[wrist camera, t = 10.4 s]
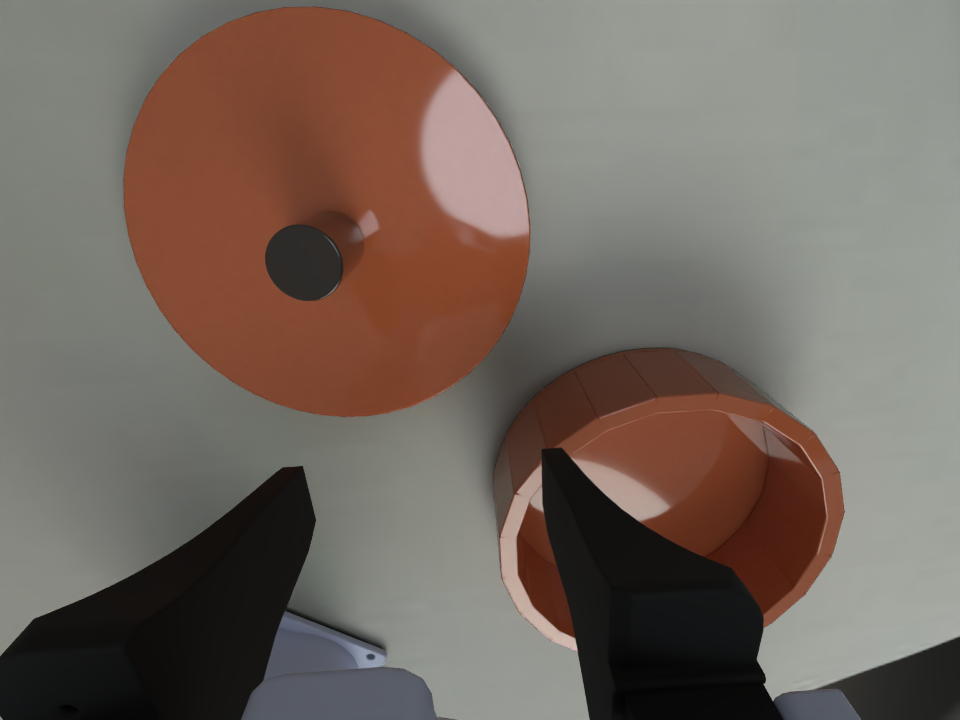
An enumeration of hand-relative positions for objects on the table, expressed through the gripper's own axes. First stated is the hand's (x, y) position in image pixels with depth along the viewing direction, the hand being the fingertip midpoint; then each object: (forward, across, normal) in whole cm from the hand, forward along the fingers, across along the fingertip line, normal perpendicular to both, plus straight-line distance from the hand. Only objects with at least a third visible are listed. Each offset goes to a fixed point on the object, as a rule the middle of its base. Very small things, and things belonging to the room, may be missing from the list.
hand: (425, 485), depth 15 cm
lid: (+9, +4, -6) cm, 11 cm away
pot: (+10, -10, +8) cm, 16 cm away
